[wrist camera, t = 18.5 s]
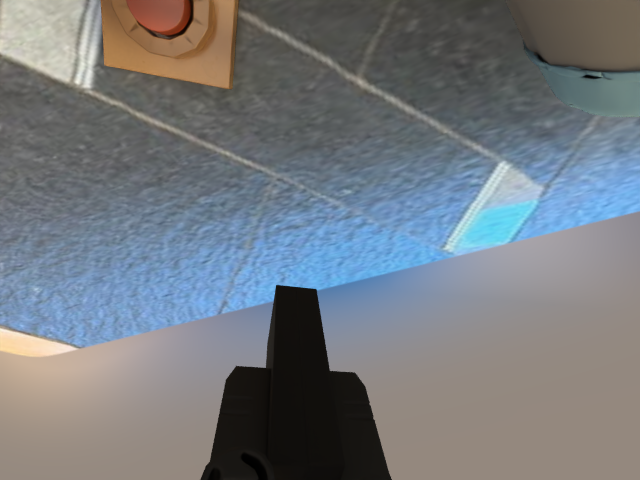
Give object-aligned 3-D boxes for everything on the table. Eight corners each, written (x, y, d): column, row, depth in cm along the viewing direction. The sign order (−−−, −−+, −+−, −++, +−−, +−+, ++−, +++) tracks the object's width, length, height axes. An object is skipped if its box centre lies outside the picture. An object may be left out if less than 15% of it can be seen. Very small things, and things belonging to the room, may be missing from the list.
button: (133, -35, 25) (123, -44, 23) (191, -21, 25) (185, -29, 24) (135, 28, 26) (125, 24, 24) (189, 40, 27) (183, 37, 25)
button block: (109, -77, 26) (81, -104, 23) (242, -44, 28) (235, -64, 24) (116, 67, 30) (93, 63, 26) (232, 89, 32) (225, 89, 28)
